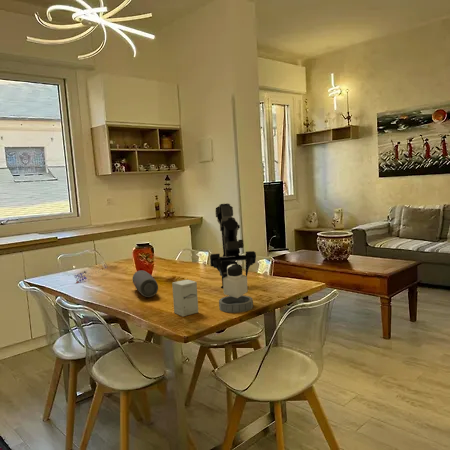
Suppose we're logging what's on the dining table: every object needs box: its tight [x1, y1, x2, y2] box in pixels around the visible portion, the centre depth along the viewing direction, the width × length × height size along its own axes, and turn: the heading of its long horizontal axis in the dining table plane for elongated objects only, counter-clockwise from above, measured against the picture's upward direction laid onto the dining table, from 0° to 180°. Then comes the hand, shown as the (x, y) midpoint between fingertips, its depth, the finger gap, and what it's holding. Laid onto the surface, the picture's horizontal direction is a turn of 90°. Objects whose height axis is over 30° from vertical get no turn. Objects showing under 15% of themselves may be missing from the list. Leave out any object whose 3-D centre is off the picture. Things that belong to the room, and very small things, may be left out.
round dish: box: [218, 294, 254, 314], centre depth 175 cm, size 14×14×3 cm
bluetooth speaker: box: [132, 269, 159, 298], centre depth 205 cm, size 23×9×10 cm, turn 21°
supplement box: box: [171, 279, 199, 317], centre depth 171 cm, size 7×7×13 cm
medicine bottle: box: [222, 264, 249, 298], centre depth 173 cm, size 7×7×12 cm
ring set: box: [74, 260, 108, 284], centre depth 245 cm, size 25×12×12 cm, turn 145°
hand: (235, 276), depth 172 cm, fingers closed on medicine bottle, 9 cm apart
